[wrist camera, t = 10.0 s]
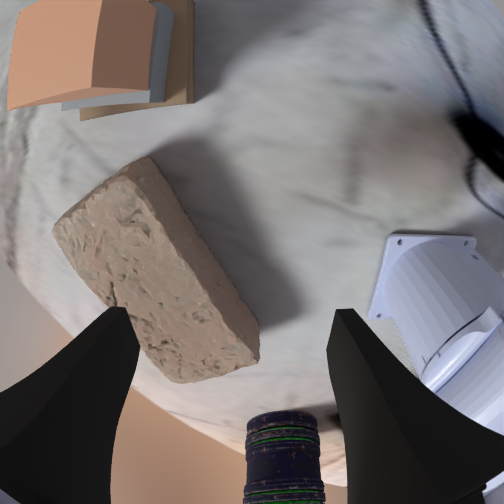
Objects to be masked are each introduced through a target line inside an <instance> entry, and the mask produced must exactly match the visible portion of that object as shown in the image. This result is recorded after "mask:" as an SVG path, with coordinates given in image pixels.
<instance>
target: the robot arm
mask: <svg viewBox="0 0 504 504" xmlns="http://www.w3.org/2000/svg"><path fill="white" fill-rule="evenodd" d="M399 239H401V241H400V242H399V243H397V242H398V240H399ZM465 241H466V242H465ZM476 245H477V239H476V238H475V237H473V236H449V235H421V234H391V235H390V236H389V237H388V239H387V243H386V247H385V252H384V256H383V260H382V264H381V268H380V272H379V276H378V280H377V284H376V288H375V291H374V295H373V298H372V302H371V305H370V308H369V312H368V317H369V319H370V320H379V319H391V318H392V319H393V321H394V323H395V325H396V327H397V329H398V331H399V333H400V335H401V338H402V340H403V342H404V344H405V346H406V348H407V351H408V353H409V355H410V357H411V360H412V362H413V364H414V366H415V369H416V371H417V373H418V376H419V378H420V380H418V379H417V378H416V377H415V376H414V375H413V374H412V373H411V372H410V371H409V370H408V369H407V368H406V367H405V366H404V365H403V364H402V363H401V362H400V361H399V360H398V359H397V358H396V357H395V356H394V355H393V354H392V352H391V351H390V350H389V349H388V348H387V347H386V346H385V345H384V344H383V342H382V341H381V340H380V339H379V338H378V337H377V336H376V334H375V333H374V332H373V331H372V330H371V329H370V327H369V326H368V325H367V324H366V323H365V322H364V320H363V319H362V318H361V317H360V316H359V315H358V314H357V312H356V311H355V310H354V309H353V308H351V309H336V311H335V316H334V320H333V324H332V329H331V333H330V337H329V341H328V345H327V349H326V352H327V360H328V367H329V375H330V379H331V383H332V387H333V391H334V395H335V399H336V403H337V408H338V412H339V416H340V420H341V424H342V429H343V434H344V442H345V452H346V464H347V489H348V504H504V278H503V277H502V276H501V275H500V274H499V273H498V272H497V271H496V270H495V269H494V268H493V267H492V266H491V265H490V264H489V263H488V262H487V261H486V260H485V259H484V258H483V257H482V256H481V255H480V254H479V253H478V252H477V251H476V250H475V248H476ZM378 314H379V315H378ZM140 347H141V346H140V343H139V341H138V338H137V336H136V333H135V331H134V328H133V326H132V323H131V320H130V318H129V315H128V312H127V309H126V307H117V306H111V307H110V308H108V309H107V310H106V311H105V312H104V313H102V314H101V315H100V316H99V317H98V318H97V319H96V320H94V321H93V322H92V323H91V324H90V325H89V326H88V327H87V328H86V329H84V330H83V331H82V332H81V333H80V334H79V335H78V336H77V337H76V338H75V339H73V340H72V341H71V342H70V343H69V344H68V345H67V346H65V347H64V348H63V349H62V350H61V351H60V352H59V353H57V354H56V355H55V356H54V357H53V358H51V359H50V360H49V361H48V362H46V363H45V364H44V365H43V366H41V367H40V368H39V369H37V370H36V371H35V372H33V373H32V374H30V375H29V376H27V377H26V378H24V379H23V380H21V381H20V382H18V383H16V384H14V385H13V386H11V387H10V388H8V389H6V390H4V391H2V392H1V393H0V504H111V495H110V482H111V464H112V454H113V447H114V441H115V435H116V429H117V425H118V421H119V418H120V414H121V412H122V408H123V405H124V402H125V399H126V396H127V394H128V391H129V388H130V385H131V382H132V379H133V376H134V373H135V370H136V366H137V361H138V357H139V352H140ZM482 492H485V493H484V494H483V493H482Z"/></svg>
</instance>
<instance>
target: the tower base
mask: <svg viewBox="0 0 504 504" xmlns="http://www.w3.org/2000/svg"><path fill="white" fill-rule="evenodd" d="M148 2H149V3H156V2H164V3H165V4H166V5H167V6H168V7H169V8H170V9H171V10H172V11H173V12H174V13H175V19H174V25H173V31H172V37H171V44H170V51H169V59H168V67H167V75H166V85H165V96H164V103H132V104H117V105H105V106H95V107H86V108H79V109H80V121H84V120H89V119H94V118H99V117H103V116H108V115H113V114H118V113H124V112H129V111H135V110H142V109H148V108H155V107H163V106H172V105H181V104H193V103H194V15H195V3H194V2H193V0H149V1H148Z"/></svg>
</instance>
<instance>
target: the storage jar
mask: <svg viewBox="0 0 504 504" xmlns="http://www.w3.org/2000/svg"><path fill="white" fill-rule="evenodd" d="M316 427H317V420H316V418H315V417H314V416H312V415H311V414H308V413H305V412H299V411H276V412H269V413H265V414H261V415H258V416H256V417H254V418H252V419H251V420H250V421H249V422H248V423H247V431H248V433H247V436H246V438H247V439H246V441H245V450H246V461H247V484H246V485H245V487H244V496H245V498H243V504H325V503H323V502H325V501H326V499H325V493H323V492H324V484H323V481H322V480H321V472H320V462H319V457H320V438H319V435H318V430H317V428H316Z"/></svg>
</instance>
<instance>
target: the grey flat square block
mask: <svg viewBox="0 0 504 504" xmlns="http://www.w3.org/2000/svg"><path fill="white" fill-rule="evenodd" d="M150 4H152V5H153V6H154V7H155V8H156V16H155V22H154V30H153V38H152V46H151V56H150V67H149V80H148V91H138V92H129V93H120V94H112V95H105V96H99V97H93V98H87V99H81V100H76V101H69V102H62V111H65V110H71V109H78V108H86V107H95V106H105V105H117V104H132V103H164V96H165V85H166V75H167V67H168V59H169V51H170V44H171V37H172V31H173V25H174V19H175V13H174V12H173V11H172V10H171V9H170V8H169V7H168V6H167V5H166V4H165V3H164V2H156V3H150Z"/></svg>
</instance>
